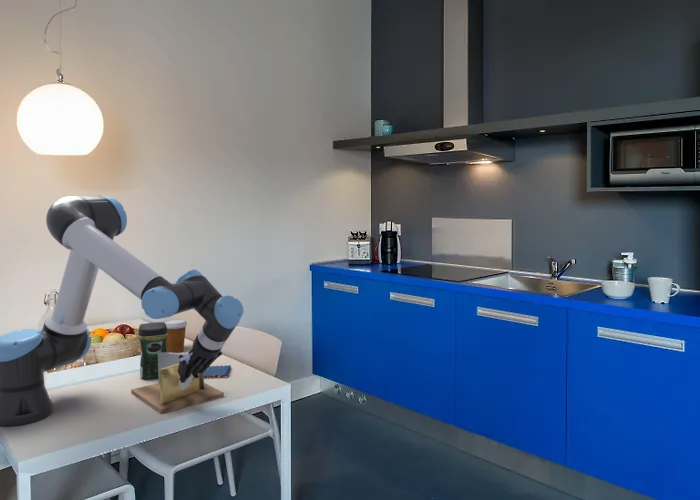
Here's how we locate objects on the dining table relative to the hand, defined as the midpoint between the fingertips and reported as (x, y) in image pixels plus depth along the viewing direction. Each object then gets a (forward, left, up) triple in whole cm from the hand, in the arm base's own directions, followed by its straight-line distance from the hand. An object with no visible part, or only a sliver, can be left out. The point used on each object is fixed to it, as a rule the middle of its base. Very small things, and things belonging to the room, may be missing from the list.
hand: (182, 385), depth 165 cm
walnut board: (-5, +7, -5) cm, 10 cm away
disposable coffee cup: (-29, +52, -6) cm, 60 cm away
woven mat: (-2, +28, -6) cm, 29 cm away
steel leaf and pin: (-6, +11, -5) cm, 14 cm away
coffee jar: (-21, +22, -6) cm, 31 cm away
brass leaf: (-1, +2, -4) cm, 4 cm away
